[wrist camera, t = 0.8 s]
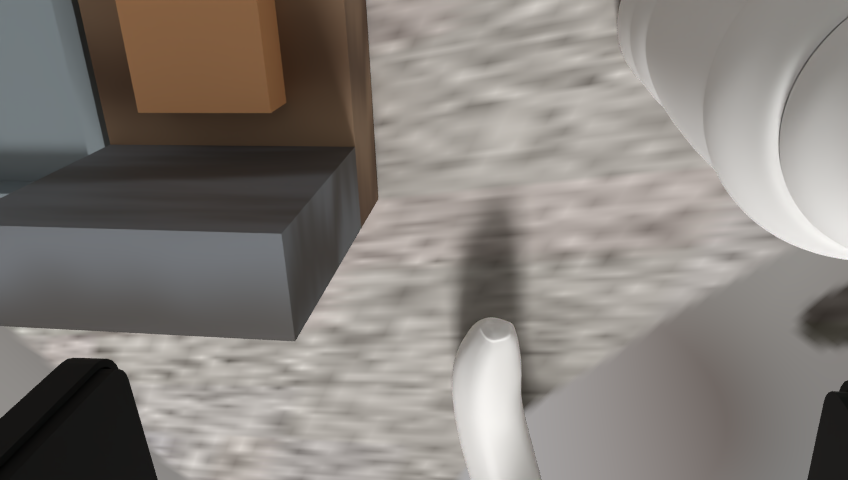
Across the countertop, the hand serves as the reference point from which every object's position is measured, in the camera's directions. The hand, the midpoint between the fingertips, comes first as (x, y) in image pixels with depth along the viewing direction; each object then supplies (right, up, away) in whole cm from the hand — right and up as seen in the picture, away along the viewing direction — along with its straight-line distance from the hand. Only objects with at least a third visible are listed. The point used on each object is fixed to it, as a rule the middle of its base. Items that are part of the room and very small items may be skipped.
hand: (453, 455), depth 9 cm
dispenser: (-9, +13, +24) cm, 29 cm away
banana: (+5, -8, +31) cm, 33 cm away
